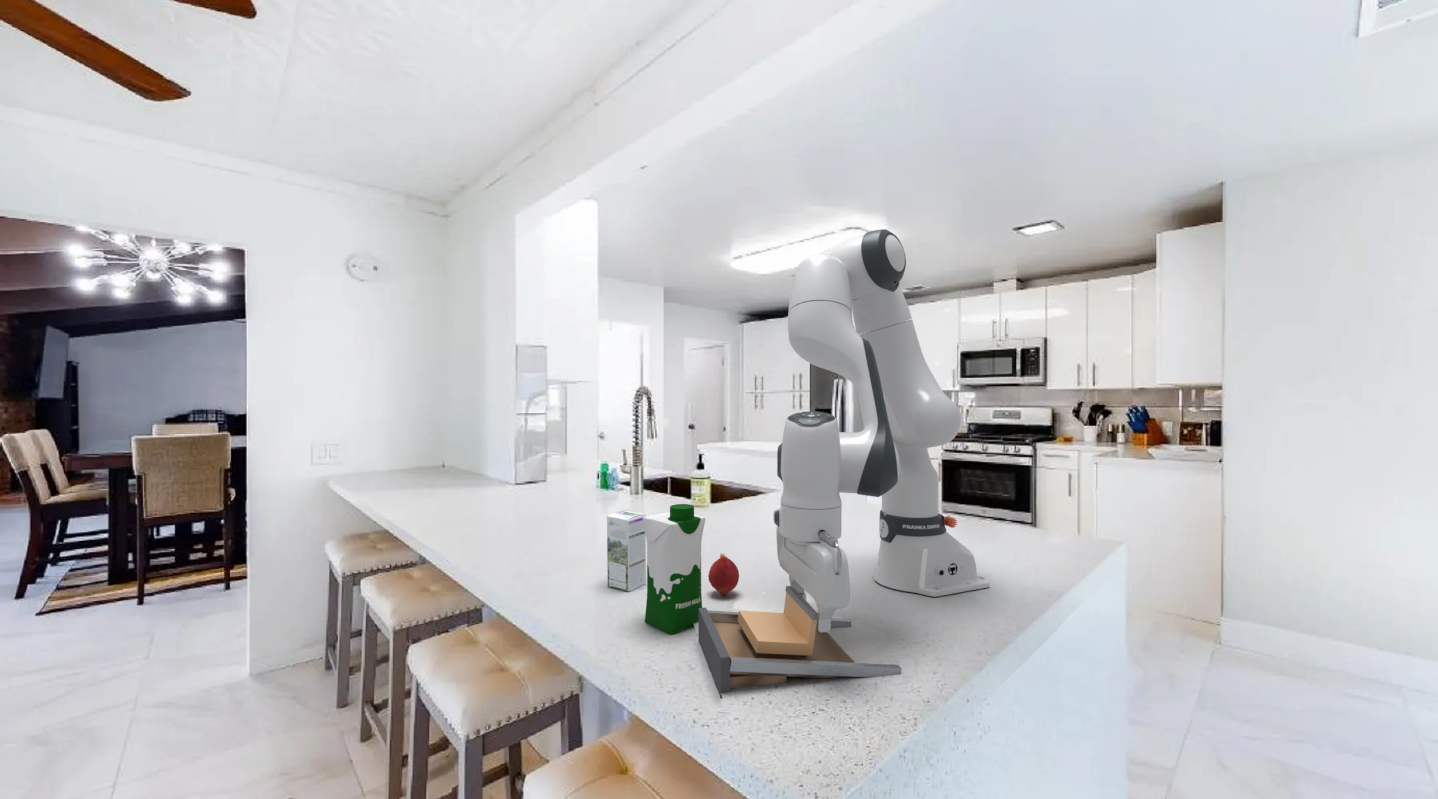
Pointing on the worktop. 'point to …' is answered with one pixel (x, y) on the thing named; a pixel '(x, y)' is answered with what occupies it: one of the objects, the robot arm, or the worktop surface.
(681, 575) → the milk carton
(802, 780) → the worktop surface
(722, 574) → the onion
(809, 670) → the dock
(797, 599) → the cart
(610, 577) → the syrup box
